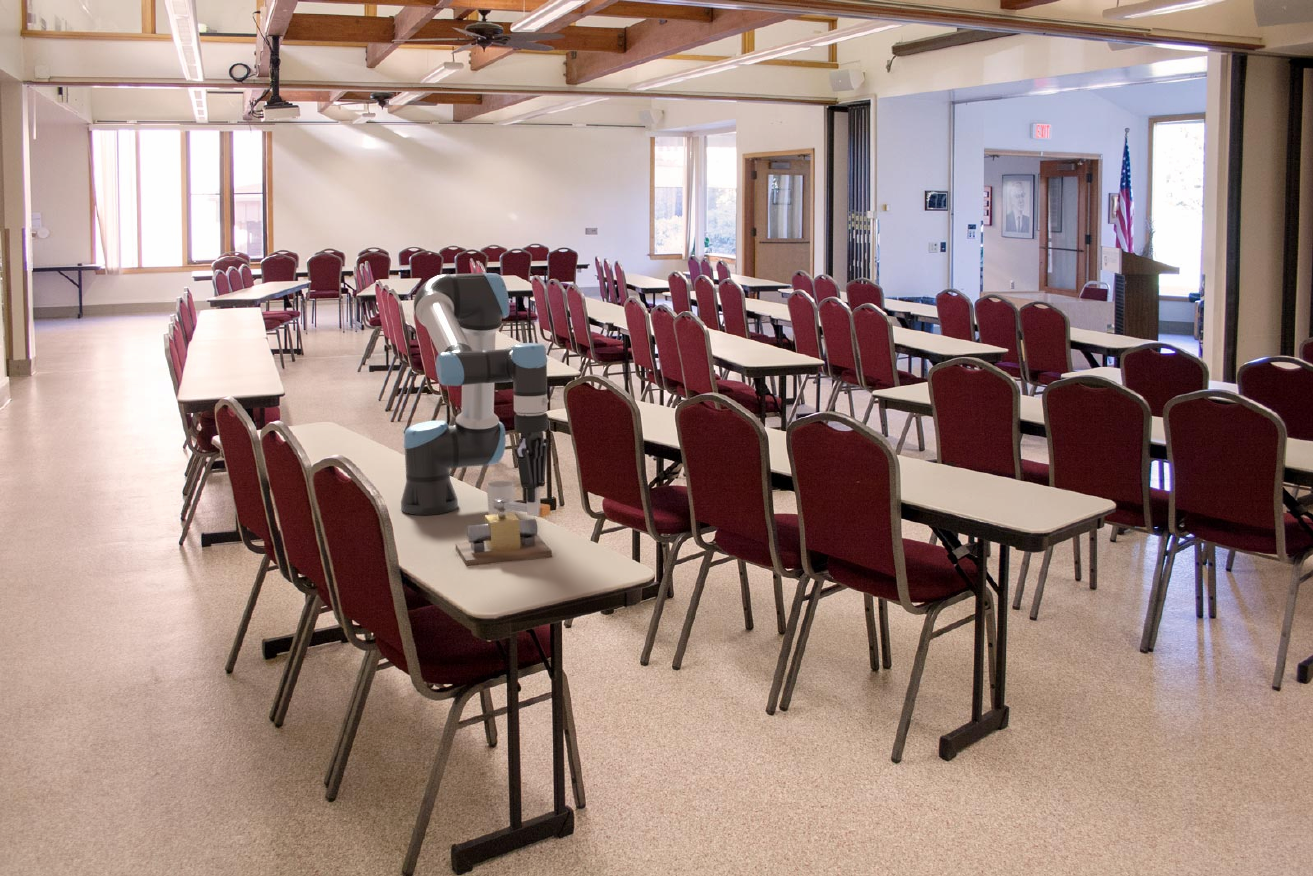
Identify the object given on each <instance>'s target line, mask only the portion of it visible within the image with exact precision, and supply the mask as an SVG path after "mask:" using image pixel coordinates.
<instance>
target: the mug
mask: <svg viewBox="0 0 1313 876" xmlns="http://www.w3.org/2000/svg"><path fill="white" fill-rule="evenodd" d="M486 495H487V510H488V511H487V512H488V515H493V514H498V510H497V509H494V503H493V500H495V499H499V498H506V499H509V501H513V502H515V482H513V481H510V480H494V481H490V482H488V483H487V484H486ZM512 512H513V513H514V514H515V510H509V509H505V513H512Z"/></svg>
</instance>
